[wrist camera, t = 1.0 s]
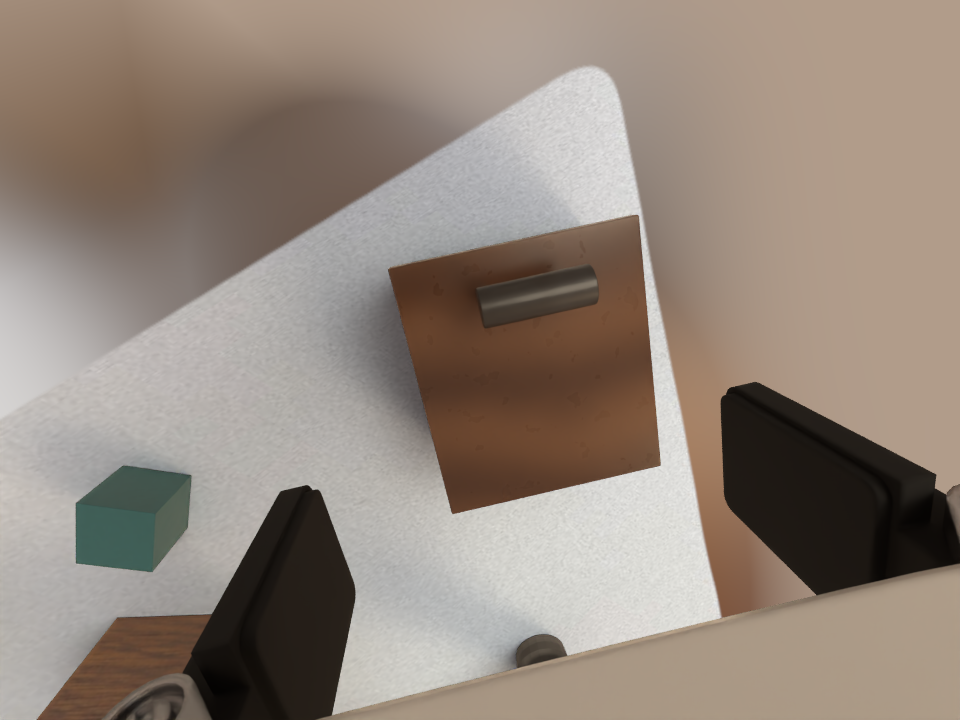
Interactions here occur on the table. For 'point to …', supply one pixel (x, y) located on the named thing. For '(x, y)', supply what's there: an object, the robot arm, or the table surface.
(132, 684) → the tissue box cover
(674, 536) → the table surface
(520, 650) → the beverage cup
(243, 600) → the robot arm
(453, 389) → the lid
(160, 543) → the block
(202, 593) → the table surface
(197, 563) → the table surface
